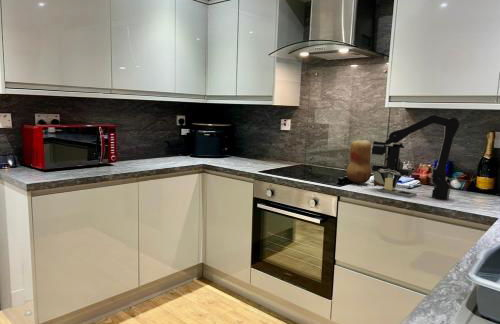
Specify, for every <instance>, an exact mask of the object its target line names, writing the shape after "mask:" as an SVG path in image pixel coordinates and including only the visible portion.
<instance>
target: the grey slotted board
mask: <svg viewBox="0 0 500 324" xmlns="http://www.w3.org/2000/svg"><path fill="white" fill-rule="evenodd" d="M377 192H379V193H384V194H388V195H389V194H390V195H393V196H398V197H403V198H408V199H410V198H411V199H412V198H414V197H418V193H416V192H412V191H406V190H400V189H397V188H395V191H388V190H384V187H382V188H378V190H377Z"/></svg>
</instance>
